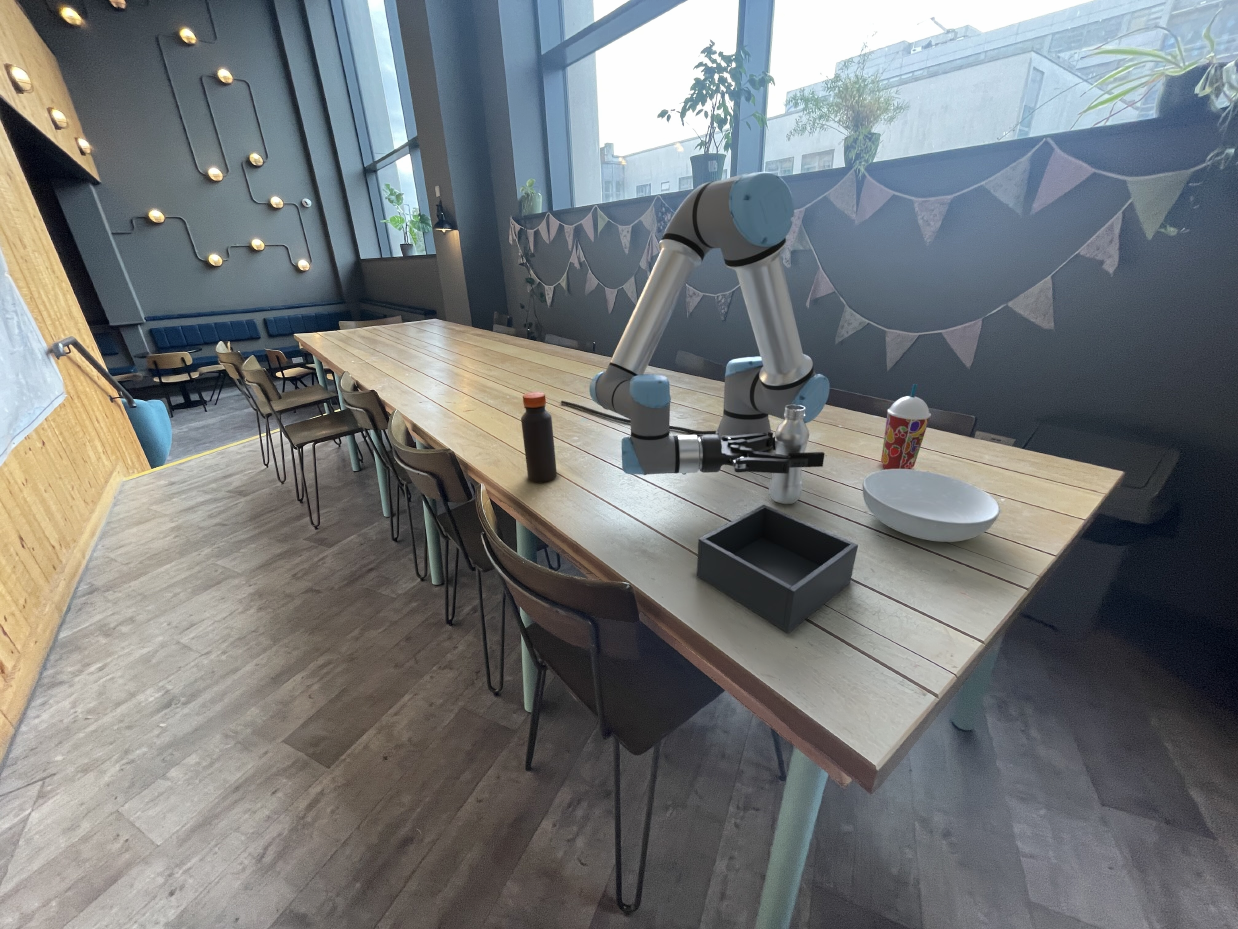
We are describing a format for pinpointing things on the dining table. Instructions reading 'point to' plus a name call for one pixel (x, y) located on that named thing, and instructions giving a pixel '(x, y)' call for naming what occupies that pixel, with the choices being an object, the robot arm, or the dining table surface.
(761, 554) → the bin
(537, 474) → the vinegar
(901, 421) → the smoothie
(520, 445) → the dining table surface
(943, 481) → the serving bowl
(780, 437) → the silver metal bottle
